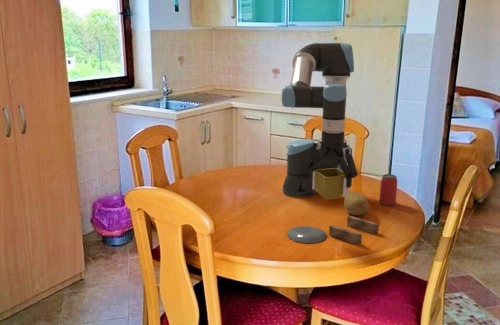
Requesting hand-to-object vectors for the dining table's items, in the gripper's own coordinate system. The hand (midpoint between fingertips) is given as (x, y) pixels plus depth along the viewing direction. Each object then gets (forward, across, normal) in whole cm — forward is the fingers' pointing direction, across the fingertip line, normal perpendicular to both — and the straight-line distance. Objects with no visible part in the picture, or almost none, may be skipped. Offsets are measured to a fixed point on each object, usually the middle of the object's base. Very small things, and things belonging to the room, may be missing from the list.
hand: (330, 192), depth 172 cm
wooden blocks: (+16, +7, +6) cm, 18 cm away
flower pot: (+2, 0, 0) cm, 2 cm away
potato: (+16, -2, +24) cm, 30 cm away
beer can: (+16, +2, +43) cm, 46 cm away
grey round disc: (+16, -6, -5) cm, 18 cm away
